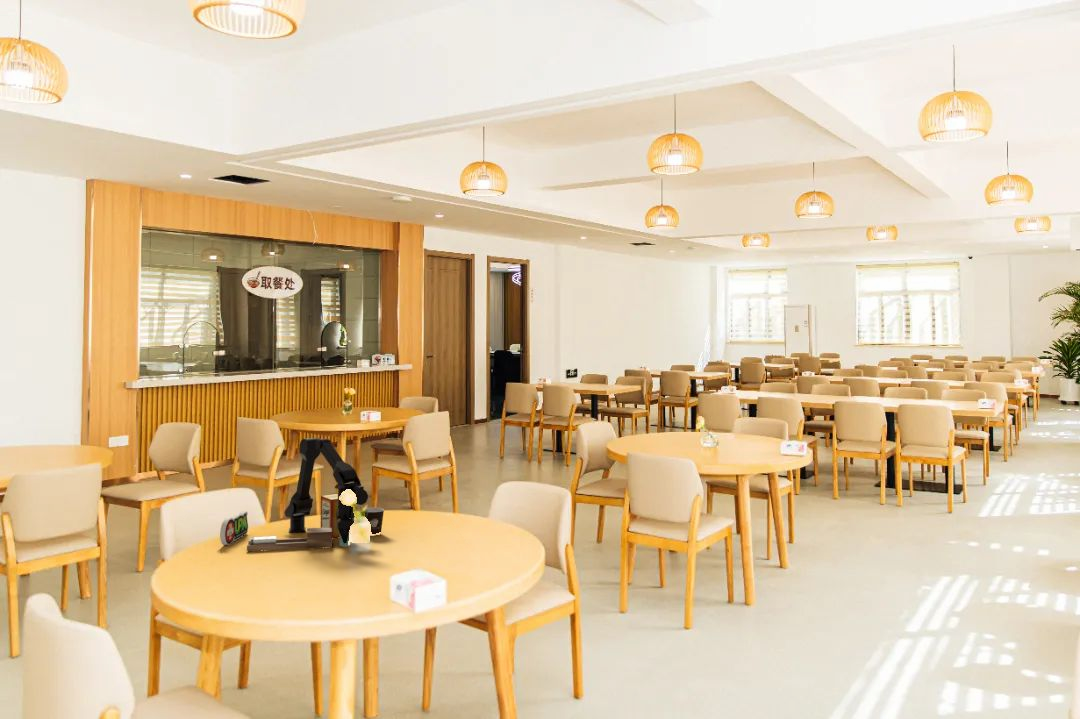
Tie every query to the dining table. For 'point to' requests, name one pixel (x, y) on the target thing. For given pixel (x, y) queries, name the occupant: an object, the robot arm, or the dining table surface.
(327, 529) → the housing
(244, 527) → the sign
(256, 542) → the grey rectangular block
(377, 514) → the coffee mug
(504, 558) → the dining table surface
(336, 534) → the baking soda box
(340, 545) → the teal cube block
